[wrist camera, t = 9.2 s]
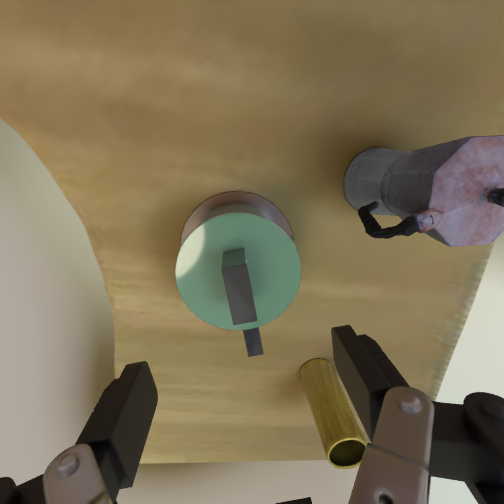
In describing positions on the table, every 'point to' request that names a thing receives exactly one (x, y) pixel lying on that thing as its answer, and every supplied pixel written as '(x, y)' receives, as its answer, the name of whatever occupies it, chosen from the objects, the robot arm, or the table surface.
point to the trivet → (230, 199)
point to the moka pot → (432, 190)
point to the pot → (238, 271)
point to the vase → (332, 415)
